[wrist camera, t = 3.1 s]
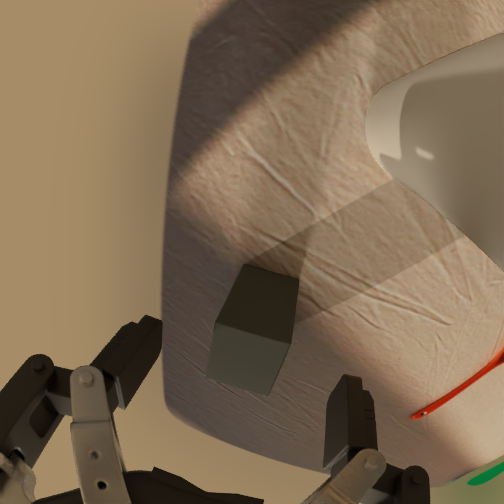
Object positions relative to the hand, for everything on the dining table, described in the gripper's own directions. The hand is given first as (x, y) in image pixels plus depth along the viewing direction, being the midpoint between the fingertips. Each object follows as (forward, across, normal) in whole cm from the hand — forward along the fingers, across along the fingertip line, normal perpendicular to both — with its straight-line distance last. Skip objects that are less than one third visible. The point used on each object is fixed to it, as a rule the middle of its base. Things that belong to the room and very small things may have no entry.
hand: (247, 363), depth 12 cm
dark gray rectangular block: (+5, 0, 0) cm, 5 cm away
